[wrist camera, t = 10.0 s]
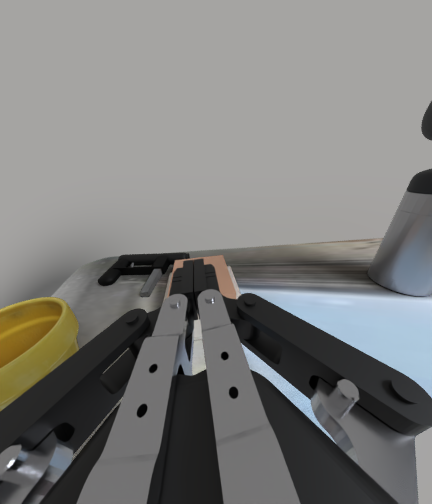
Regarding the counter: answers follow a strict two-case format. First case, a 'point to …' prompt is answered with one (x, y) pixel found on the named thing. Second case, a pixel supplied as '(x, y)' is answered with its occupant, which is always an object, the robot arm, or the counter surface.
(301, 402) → the counter surface
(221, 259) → the terracotta tile
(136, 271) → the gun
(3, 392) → the plant pot
